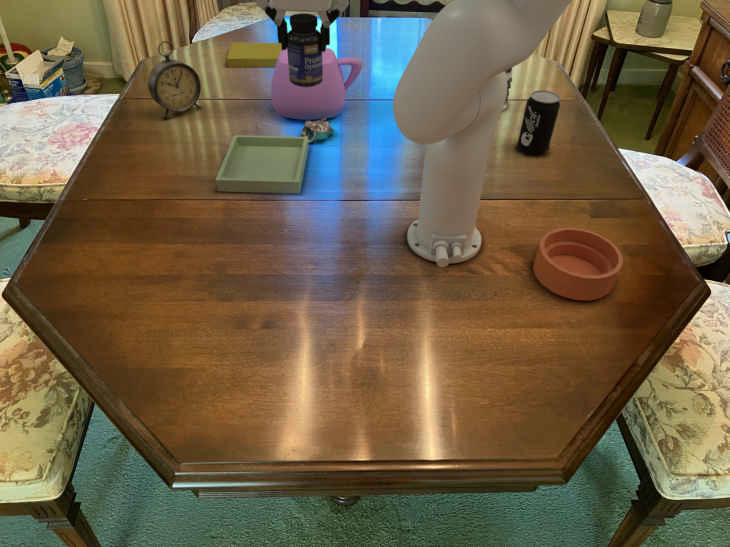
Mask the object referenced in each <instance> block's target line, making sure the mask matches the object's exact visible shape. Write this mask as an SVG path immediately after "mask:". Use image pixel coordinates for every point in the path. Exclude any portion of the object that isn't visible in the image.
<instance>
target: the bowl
mask: <svg viewBox="0 0 730 547" xmlns="http://www.w3.org/2000/svg"><path fill="white" fill-rule="evenodd" d="M533 261H534V262H533V264H532V265H533V266H532V270H533V273H534V276H535V278H536V279H537V280H538V281H539V283H540V284H541V285H542V286H543V287H545V288H546V289H547V290H549V291H550V292H552V293H554V294H556V295H558V296H560V297H563V298H566V299H570V300H574V301H588V302H589V301H594V300H599V299H602V298H604V297H605V296H607V295H609V294H610V293H611V291H612V289H613V288H614V286H615V283H616V281H617V279H618V276H619V275H620V272H621V270H622V267H623V266H624V256H623V254H622V251H621V250H620V248H618V246H617V245H616V244H615V243H613V241H612V240H610V239H608V238H607V237H605V236H604V235H602V234H600V233H598V232H594V231H592V230H590V229H587V228H586V229H585V228H582V227H581V228H580V227H572V226H569V227H568V226H564V227H558V228H554V229H551V230H549V231H548V232H547V231H546V233H545V234H543V236H542V237H541V238H540V240H539V244H538V247H537V250H536V254H535V257H534V260H533Z"/></svg>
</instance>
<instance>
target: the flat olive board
mask: <svg viewBox="0 0 730 547" xmlns="http://www.w3.org/2000/svg"><path fill="white" fill-rule="evenodd" d="M281 51H282V46H281V43H278V42H232V43H231V46H230V49H229V51H228V53H227V57H226V64H227V68H241V67H243V68H253V67H254V68H257V67H258V68H275V66H276V63H277V60H278V57H279V54H280V52H281Z"/></svg>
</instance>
